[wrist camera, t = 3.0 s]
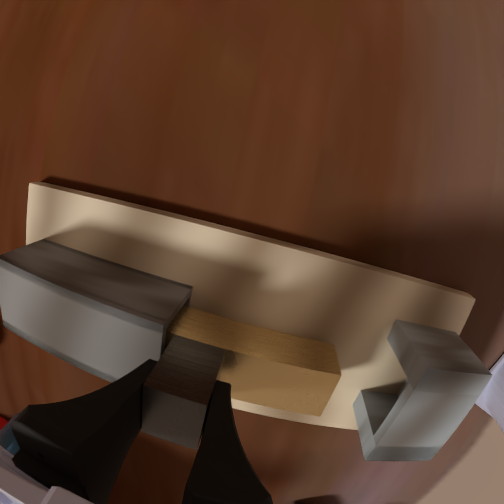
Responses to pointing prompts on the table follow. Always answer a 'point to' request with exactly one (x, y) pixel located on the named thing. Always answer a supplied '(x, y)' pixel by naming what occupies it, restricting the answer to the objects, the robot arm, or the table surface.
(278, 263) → the grey blocks on plank
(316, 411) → the tan flat block
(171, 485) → the table surface
